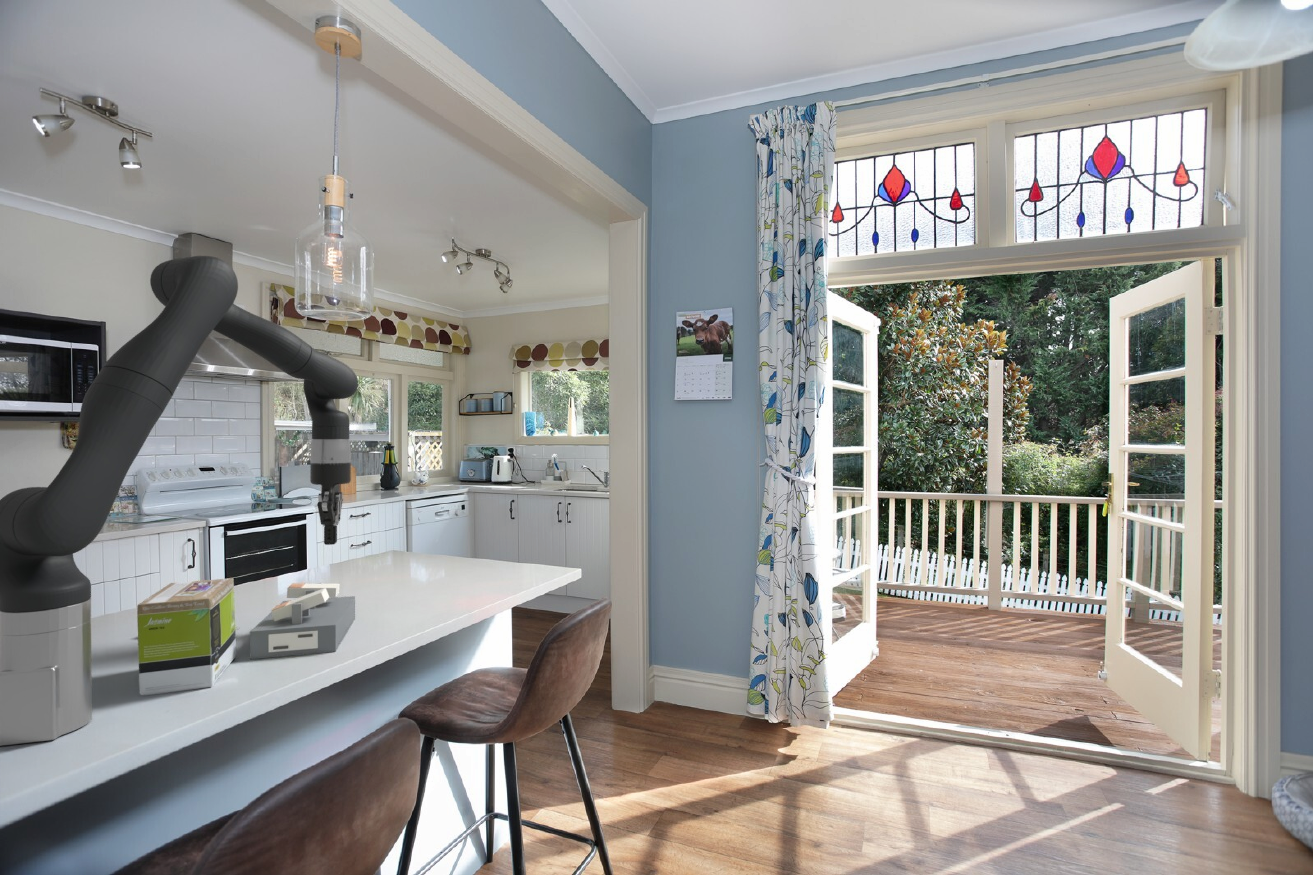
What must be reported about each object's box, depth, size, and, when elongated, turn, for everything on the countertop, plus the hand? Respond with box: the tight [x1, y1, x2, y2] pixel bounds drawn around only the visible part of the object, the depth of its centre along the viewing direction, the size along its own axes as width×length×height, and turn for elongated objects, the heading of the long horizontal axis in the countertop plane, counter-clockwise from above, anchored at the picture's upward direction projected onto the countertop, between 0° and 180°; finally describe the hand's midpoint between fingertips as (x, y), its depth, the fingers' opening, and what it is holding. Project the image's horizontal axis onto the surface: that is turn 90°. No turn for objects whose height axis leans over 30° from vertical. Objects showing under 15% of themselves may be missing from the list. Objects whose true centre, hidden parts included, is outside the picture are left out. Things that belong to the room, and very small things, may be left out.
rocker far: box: [286, 582, 340, 599], centre depth 133 cm, size 5×9×2 cm, turn 107°
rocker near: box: [270, 588, 329, 621], centre depth 123 cm, size 5×9×2 cm, turn 107°
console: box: [249, 582, 356, 660], centre depth 128 cm, size 22×14×9 cm, turn 17°
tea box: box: [136, 577, 237, 697], centre depth 108 cm, size 15×10×15 cm, turn 21°
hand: (330, 543), depth 134 cm, fingers closed
